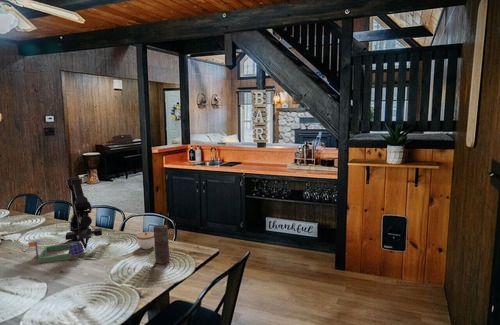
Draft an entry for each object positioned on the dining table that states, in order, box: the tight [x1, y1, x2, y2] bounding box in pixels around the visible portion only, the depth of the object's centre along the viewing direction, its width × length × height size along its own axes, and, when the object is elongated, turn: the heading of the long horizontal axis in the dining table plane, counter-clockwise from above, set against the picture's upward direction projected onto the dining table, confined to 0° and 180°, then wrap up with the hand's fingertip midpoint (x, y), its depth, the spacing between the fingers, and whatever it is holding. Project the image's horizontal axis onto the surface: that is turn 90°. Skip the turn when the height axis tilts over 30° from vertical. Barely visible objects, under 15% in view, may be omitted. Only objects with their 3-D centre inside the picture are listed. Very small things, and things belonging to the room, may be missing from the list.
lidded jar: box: [136, 231, 155, 250], centre depth 203 cm, size 11×11×9 cm
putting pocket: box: [27, 241, 73, 264], centre depth 192 cm, size 21×18×9 cm
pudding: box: [63, 241, 89, 257], centre depth 197 cm, size 12×12×5 cm
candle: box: [152, 224, 171, 265], centre depth 182 cm, size 8×7×20 cm
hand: (85, 248), depth 199 cm, fingers closed
